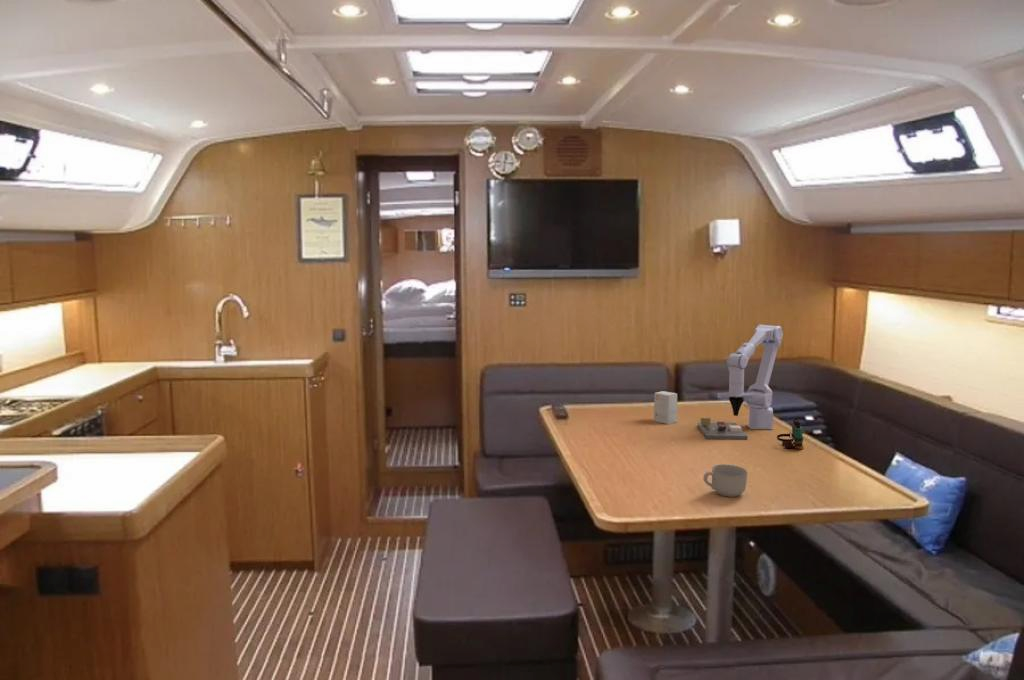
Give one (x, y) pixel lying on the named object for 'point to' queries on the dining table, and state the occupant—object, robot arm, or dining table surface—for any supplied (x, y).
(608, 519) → the dining table surface
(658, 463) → the dining table surface
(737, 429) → the push button
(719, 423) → the rocker switch
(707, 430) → the switch panel
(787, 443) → the figurine with basket
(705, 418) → the block
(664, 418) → the small box
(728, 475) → the teacup
